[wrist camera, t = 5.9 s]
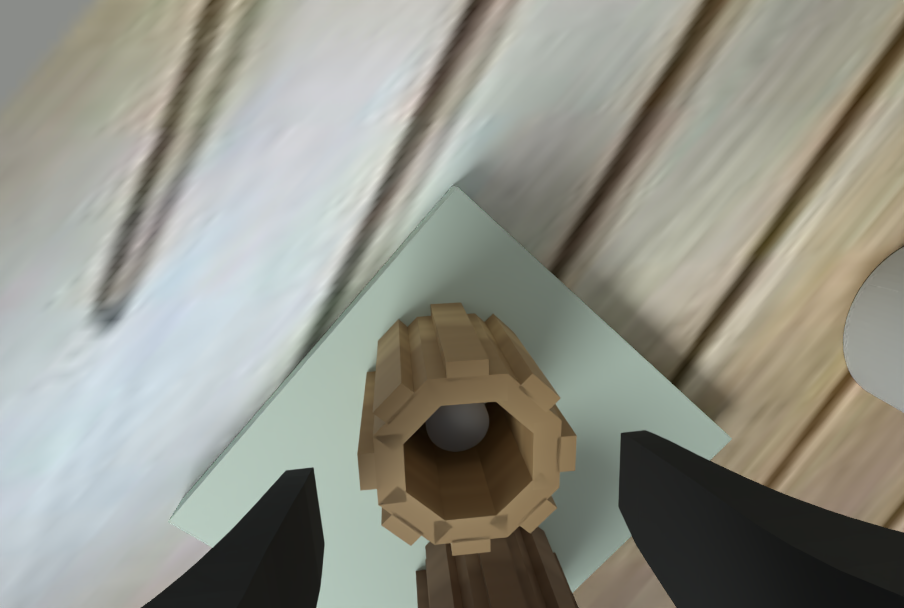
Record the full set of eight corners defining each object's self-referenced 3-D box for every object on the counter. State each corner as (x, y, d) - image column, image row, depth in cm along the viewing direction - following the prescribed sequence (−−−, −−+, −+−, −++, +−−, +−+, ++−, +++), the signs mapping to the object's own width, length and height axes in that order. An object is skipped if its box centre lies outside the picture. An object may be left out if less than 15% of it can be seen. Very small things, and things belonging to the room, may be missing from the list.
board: (713, 423, 21) (791, 487, 17) (463, 667, 23) (478, 777, 19) (453, 184, 17) (471, 192, 13) (181, 500, 19) (125, 592, 15)
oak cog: (558, 372, 18) (618, 449, 13) (451, 478, 19) (472, 588, 14) (444, 269, 16) (466, 314, 12) (333, 388, 17) (311, 476, 12)
